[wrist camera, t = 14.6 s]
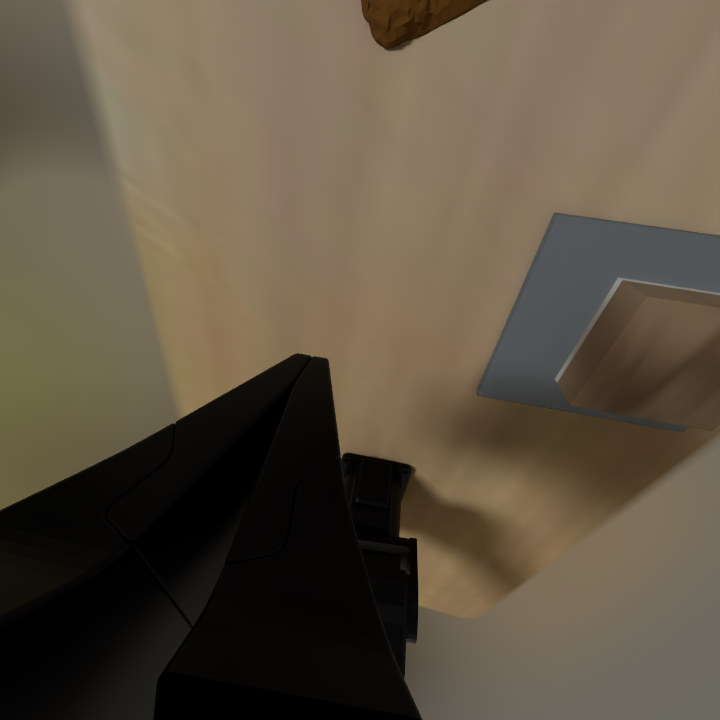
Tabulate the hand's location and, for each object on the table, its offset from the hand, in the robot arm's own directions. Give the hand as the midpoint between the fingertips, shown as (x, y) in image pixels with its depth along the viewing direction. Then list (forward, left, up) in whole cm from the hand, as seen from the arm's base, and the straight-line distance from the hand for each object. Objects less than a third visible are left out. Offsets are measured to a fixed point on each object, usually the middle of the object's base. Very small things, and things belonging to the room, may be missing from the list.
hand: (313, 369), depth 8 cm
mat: (-3, -16, -12) cm, 20 cm away
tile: (-3, -13, -10) cm, 17 cm away
